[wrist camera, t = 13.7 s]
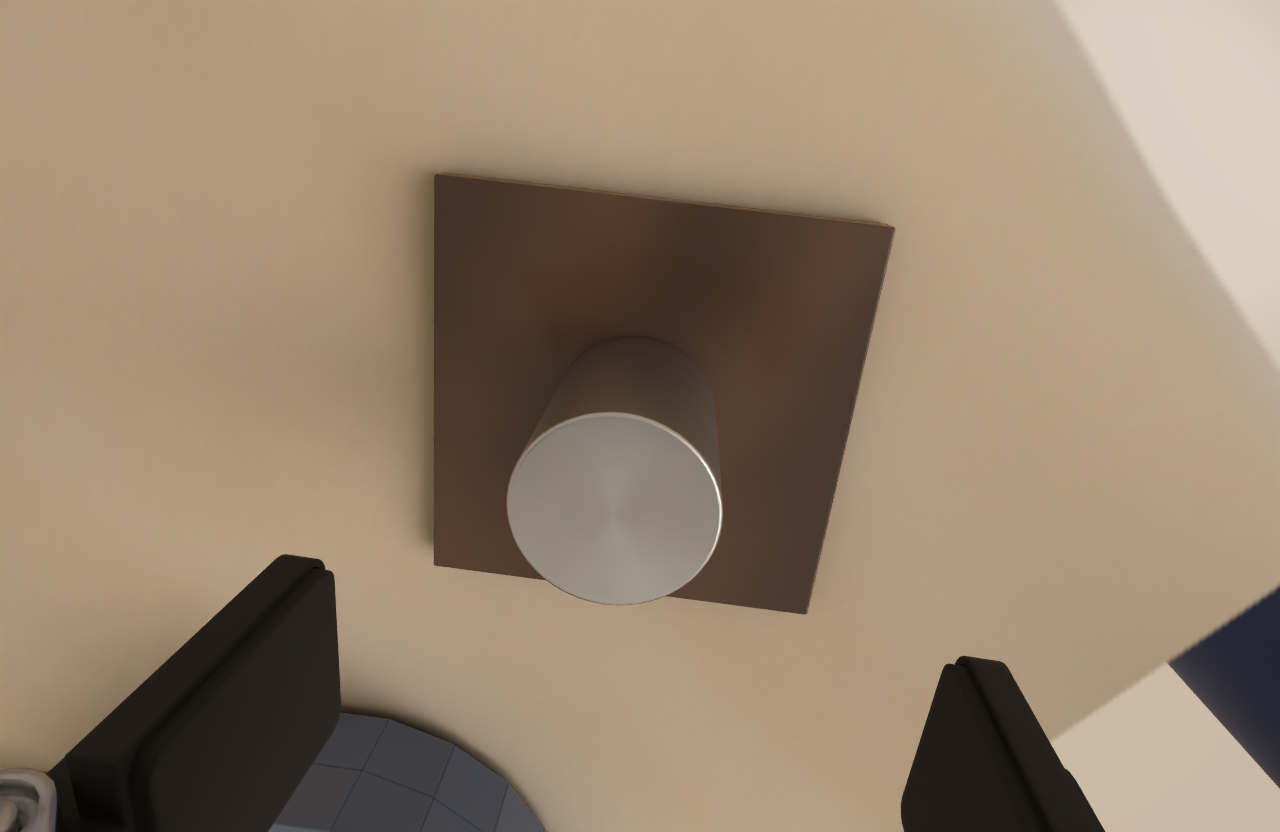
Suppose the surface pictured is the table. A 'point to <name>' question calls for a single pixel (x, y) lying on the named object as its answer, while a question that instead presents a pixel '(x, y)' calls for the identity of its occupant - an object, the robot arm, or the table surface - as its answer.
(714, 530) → the tin
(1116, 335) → the table surface
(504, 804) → the bowl
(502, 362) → the mat
